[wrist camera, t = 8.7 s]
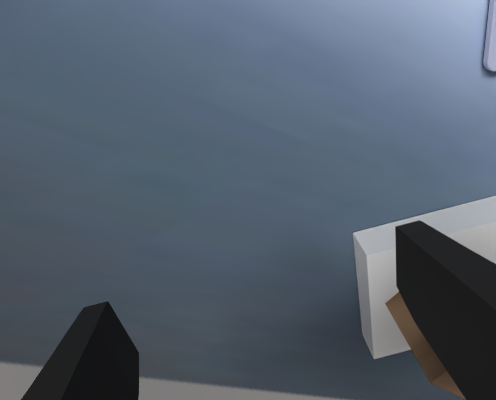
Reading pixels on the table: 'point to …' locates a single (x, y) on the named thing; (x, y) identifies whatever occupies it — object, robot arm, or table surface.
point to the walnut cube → (421, 346)
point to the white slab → (384, 265)
